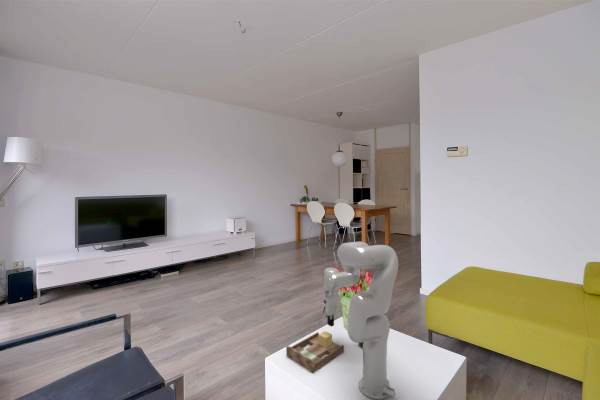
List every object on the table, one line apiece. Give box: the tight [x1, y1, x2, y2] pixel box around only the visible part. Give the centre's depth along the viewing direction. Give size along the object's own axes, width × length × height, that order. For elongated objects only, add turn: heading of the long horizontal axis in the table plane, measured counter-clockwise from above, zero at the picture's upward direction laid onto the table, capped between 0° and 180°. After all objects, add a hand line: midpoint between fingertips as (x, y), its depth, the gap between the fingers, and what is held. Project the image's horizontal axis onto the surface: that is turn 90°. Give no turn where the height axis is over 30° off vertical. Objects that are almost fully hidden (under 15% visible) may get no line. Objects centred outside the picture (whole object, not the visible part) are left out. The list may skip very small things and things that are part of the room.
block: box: [318, 330, 333, 348], centre depth 145 cm, size 5×5×5 cm
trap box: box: [285, 331, 345, 374], centre depth 140 cm, size 18×23×5 cm
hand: (330, 325), depth 149 cm, fingers closed
